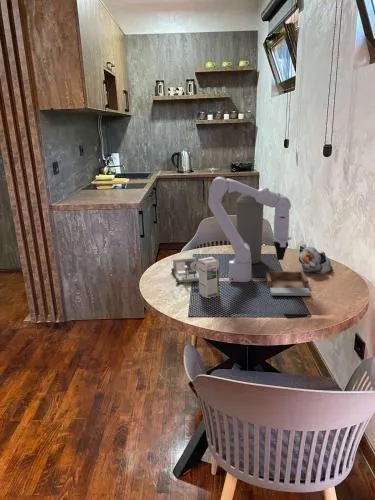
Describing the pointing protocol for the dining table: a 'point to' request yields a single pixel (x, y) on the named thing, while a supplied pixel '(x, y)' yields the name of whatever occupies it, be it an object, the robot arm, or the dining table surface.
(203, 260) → the syrup box
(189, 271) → the grey small appliance
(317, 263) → the lucky cat figurine
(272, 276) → the brown shallow open box
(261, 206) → the canister
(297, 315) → the phone
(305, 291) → the cabinet door
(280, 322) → the dining table surface
